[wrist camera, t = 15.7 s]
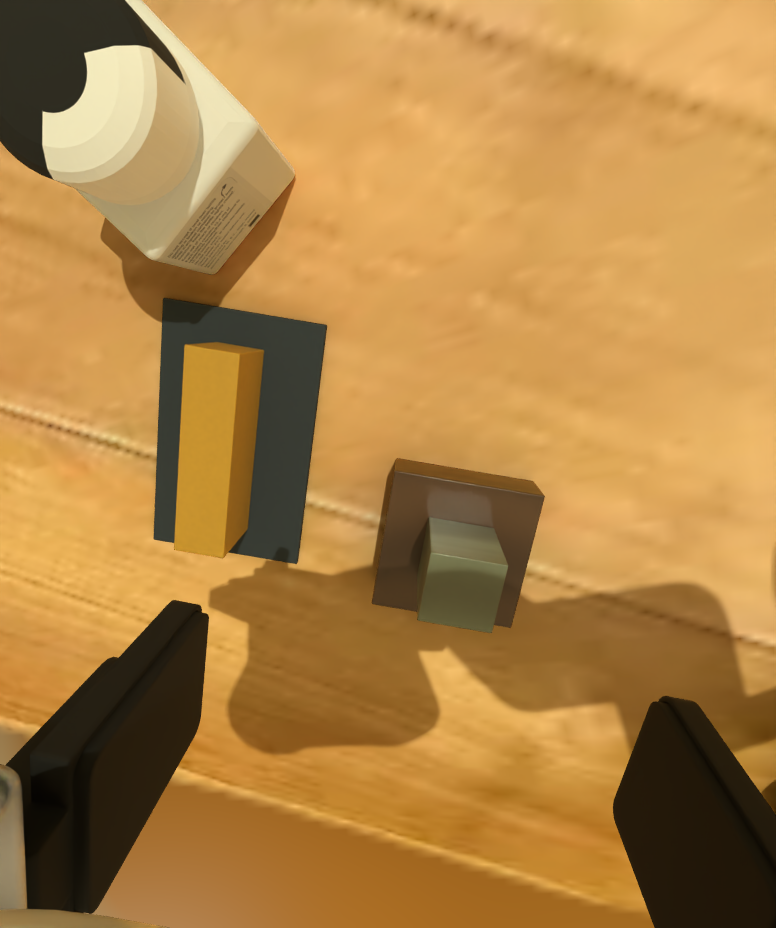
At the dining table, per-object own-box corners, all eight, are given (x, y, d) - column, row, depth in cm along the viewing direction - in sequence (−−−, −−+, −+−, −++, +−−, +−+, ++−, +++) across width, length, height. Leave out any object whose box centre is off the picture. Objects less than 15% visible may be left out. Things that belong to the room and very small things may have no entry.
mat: (165, 298, 31) (162, 297, 31) (327, 325, 31) (326, 325, 31) (156, 537, 35) (153, 539, 35) (297, 561, 35) (296, 564, 35)
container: (113, 179, 30) (-112, 72, 17) (194, 65, 28) (12, -149, 15) (214, 278, 31) (75, 245, 18) (299, 174, 29) (210, 58, 16)
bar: (216, 341, 31) (184, 344, 27) (264, 349, 31) (239, 353, 27) (204, 522, 34) (173, 550, 30) (247, 529, 34) (223, 558, 30)
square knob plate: (396, 457, 33) (390, 498, 25) (533, 481, 33) (569, 528, 25) (375, 581, 35) (363, 652, 28) (503, 603, 35) (527, 681, 28)
